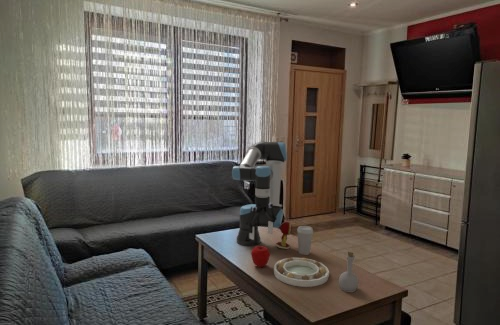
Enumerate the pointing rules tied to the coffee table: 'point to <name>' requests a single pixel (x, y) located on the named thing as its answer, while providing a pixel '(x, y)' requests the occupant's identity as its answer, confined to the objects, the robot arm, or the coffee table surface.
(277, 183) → the robot arm
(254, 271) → the coffee table surface
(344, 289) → the potion bottle
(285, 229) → the figurine
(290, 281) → the bead tray
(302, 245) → the coffee cup
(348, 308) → the coffee table surface
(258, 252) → the apple
